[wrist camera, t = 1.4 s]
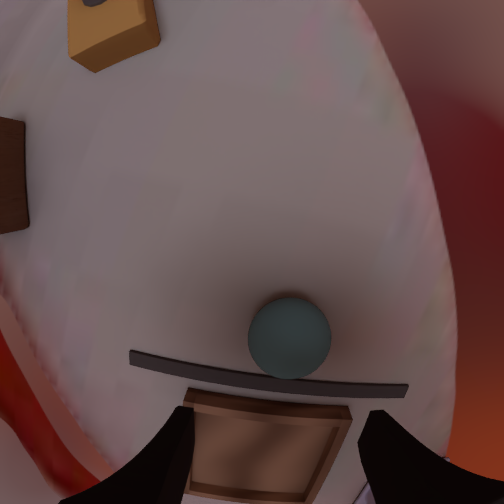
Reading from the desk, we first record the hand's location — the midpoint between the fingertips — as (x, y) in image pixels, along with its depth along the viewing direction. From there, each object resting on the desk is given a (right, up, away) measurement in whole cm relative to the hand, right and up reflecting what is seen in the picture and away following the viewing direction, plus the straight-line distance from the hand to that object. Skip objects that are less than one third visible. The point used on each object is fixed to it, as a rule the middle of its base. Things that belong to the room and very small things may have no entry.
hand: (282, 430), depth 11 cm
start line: (0, -2, +11) cm, 11 cm away
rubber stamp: (-11, +26, +6) cm, 29 cm away
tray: (-1, -10, +12) cm, 16 cm away
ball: (+1, +2, +7) cm, 8 cm away
